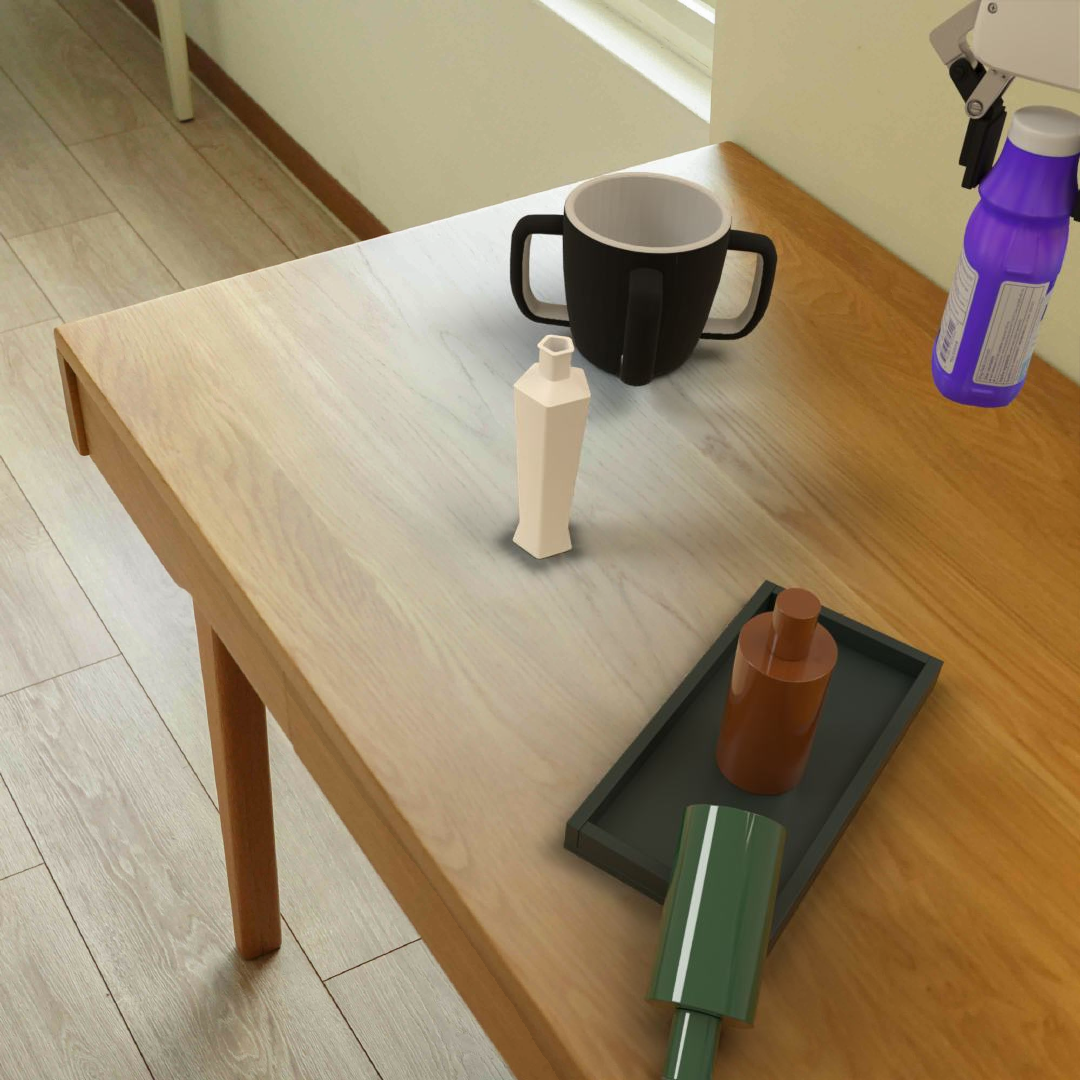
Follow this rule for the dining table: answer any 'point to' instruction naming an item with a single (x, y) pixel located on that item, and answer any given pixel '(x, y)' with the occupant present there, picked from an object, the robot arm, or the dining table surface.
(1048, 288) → the bottle
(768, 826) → the green bottle
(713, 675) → the tray
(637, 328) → the mug
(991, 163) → the robot arm
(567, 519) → the perfume bottle
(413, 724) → the dining table surface
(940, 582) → the dining table surface
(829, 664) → the middle bottle
